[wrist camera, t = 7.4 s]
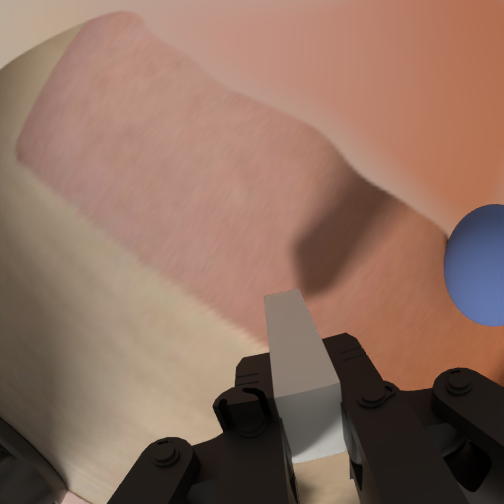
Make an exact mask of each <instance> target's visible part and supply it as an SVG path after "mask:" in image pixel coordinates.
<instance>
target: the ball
mask: <svg viewBox="0 0 504 504" xmlns="http://www.w3.org/2000/svg"><path fill="white" fill-rule="evenodd" d="M444 277H445V282H446V286H447V289H448V292H449V295H450V297H451V299H452V301H453V302H454V304H455V305H456V307H457V308H458V309H459V310H460V311H461V312H462V313H463V314H464V315H465V316H466V317H467V318H469V319H471V320H472V321H474V322H476V323H479V324H481V325H486V326H502V325H504V205H499V204H493V205H486V206H482V207H479V208H477V209H475V210H473V211H472V212H470V213H469V214H467V215H466V216H465V217H464V218H463V219H462V220H461V221H460V222H459V223H458V225H457V226H456V227H455V229H454V230H453V232H452V234H451V236H450V238H449V241H448V244H447V247H446V251H445V257H444Z"/></svg>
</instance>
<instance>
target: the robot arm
mask: <svg viewBox="0 0 504 504" xmlns="http://www.w3.org/2000/svg"><path fill="white" fill-rule="evenodd" d="M264 303H265V313H266V322H267V332H268V341H269V351H270V352H269V353H264V354H259V355H254V356H249V357H244V358H242V360H241V361H240V362H239V364H238V365H237V367H236V375H235V378H236V379H235V387H233V388H230V389H229V390H227V391H225V392H223V393H222V394H221V395H220V396H219V397H218V398H217V399H216V400H215V402H214V404H213V406H212V407H213V410H214V412H215V414H216V416H217V419H218V421H219V423H220V425H221V428H222V430H223V433H222V434H220V435H219V436H217V437H216V438H213V439H211V440H209V441H206V442H202V443H199V444H196V445H193V446H191V445H190V444H189V443H188V442H187V441H186V440H184V439H181V438H178V437H166V438H163V439H159V440H157V441H155V442H153V443H151V444H150V445H149V446H148V447H147V448H146V449H145V450H144V451H143V452H142V454H141V455H140V457H139V458H138V459H137V461H136V462H135V464H134V465H133V467H132V468H131V470H130V471H129V473H128V474H127V475H126V477H125V478H124V480H123V481H122V483H121V484H120V485H119V487H118V488H117V490H116V491H115V493H114V494H113V495H112V497H111V498H110V500H109V501H108V503H107V504H300V503H299V496H298V489H297V482H296V477H295V474H294V470H293V464H295V463H300V462H305V461H310V460H314V459H319V458H323V457H327V456H331V455H335V454H339V453H342V452H346V447H347V451H348V454H349V461H350V479H354V482H355V485H356V488H357V492H358V495H359V498H360V502H361V504H504V387H502V386H500V385H498V384H497V383H495V382H493V381H492V380H490V379H488V378H486V377H485V376H483V375H481V374H479V373H478V372H476V371H474V370H471V369H468V368H454V369H449V370H447V371H445V372H443V373H441V374H440V375H439V376H438V377H437V378H436V379H435V381H434V384H433V388H429V389H422V390H416V391H402V390H400V389H399V388H398V387H397V386H395V385H394V384H393V383H390V382H387V381H383V379H382V377H381V376H380V374H379V373H378V371H377V370H376V368H375V366H374V365H373V363H372V362H371V360H370V359H369V357H368V355H366V352H365V351H364V349H363V348H362V346H361V345H360V343H359V342H358V340H357V339H356V338H355V337H353V336H351V335H349V334H347V333H343V334H339V335H335V336H332V337H328V338H324V339H321V337H320V335H319V332H318V330H317V328H316V326H315V323H314V321H313V319H312V317H311V314H310V312H309V310H308V308H307V305H306V303H305V301H304V299H303V297H302V294H301V292H300V290H299V288H297V289H293V290H289V291H285V292H280V293H276V294H272V295H267V296H264ZM345 444H346V446H345ZM66 493H67V490H66V486H65V484H64V482H63V481H62V479H61V478H60V476H59V475H58V474H57V473H56V471H55V470H54V469H53V468H52V467H51V466H50V464H49V463H48V462H47V461H46V460H45V459H44V458H43V457H42V456H41V455H40V454H39V453H38V452H37V451H36V450H35V449H34V448H33V447H32V446H31V445H30V444H29V443H28V442H27V441H25V440H24V439H23V438H22V437H21V436H20V435H19V434H18V433H17V432H15V431H14V430H13V429H12V428H11V427H10V426H8V425H7V424H6V423H5V422H4V421H2V420H1V419H0V504H61V503H62V501H63V499H64V497H65V495H66Z"/></svg>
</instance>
